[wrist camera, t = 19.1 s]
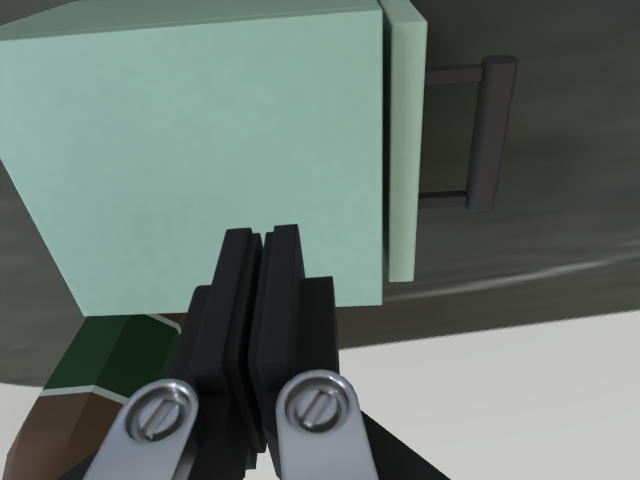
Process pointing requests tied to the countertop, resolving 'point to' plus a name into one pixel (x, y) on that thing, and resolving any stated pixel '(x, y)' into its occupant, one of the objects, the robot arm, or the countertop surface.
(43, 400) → the beer bottle
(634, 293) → the countertop surface
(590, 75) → the countertop surface
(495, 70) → the drawer
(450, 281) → the countertop surface
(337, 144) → the cabinet
